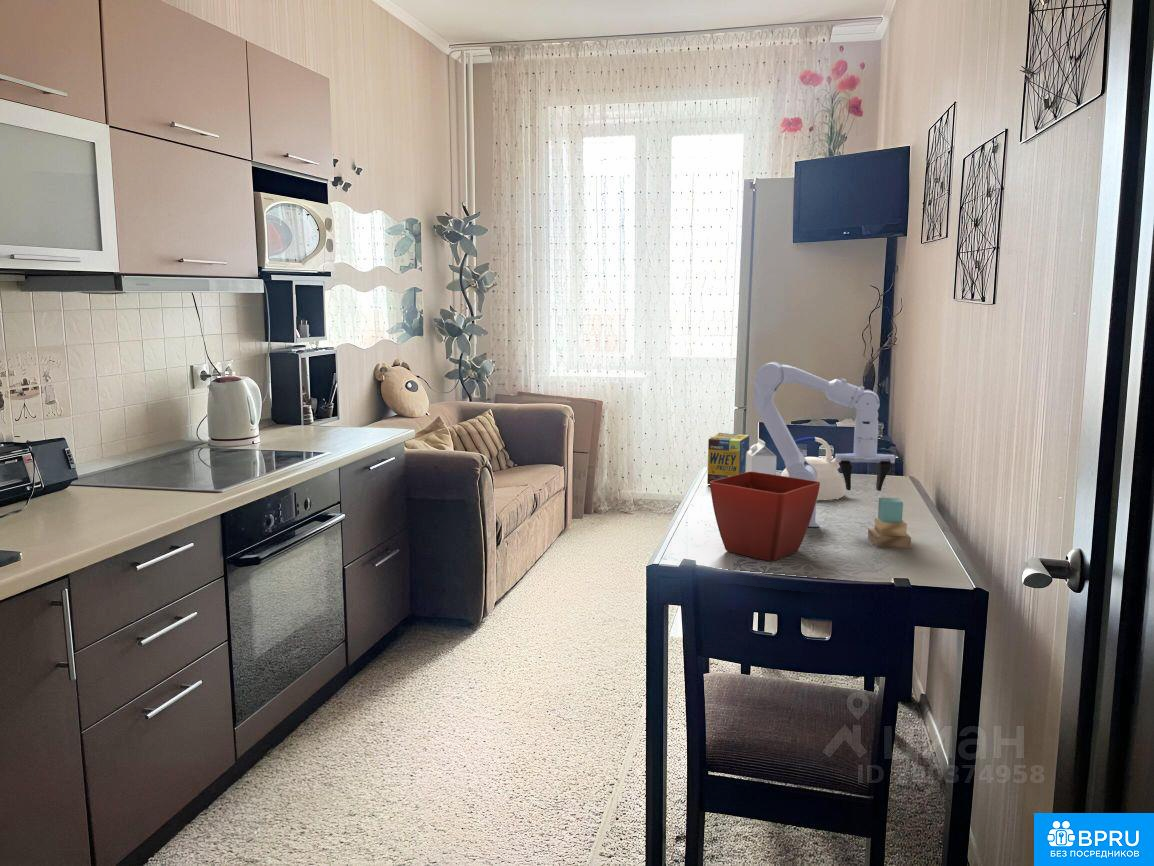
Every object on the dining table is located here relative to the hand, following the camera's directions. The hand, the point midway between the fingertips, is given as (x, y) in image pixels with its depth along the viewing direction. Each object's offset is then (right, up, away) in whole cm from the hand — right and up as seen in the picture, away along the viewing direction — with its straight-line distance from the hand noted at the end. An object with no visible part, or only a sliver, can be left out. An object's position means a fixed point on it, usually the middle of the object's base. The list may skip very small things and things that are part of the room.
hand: (863, 489), depth 220 cm
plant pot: (-30, -13, -20) cm, 39 cm away
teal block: (+2, -7, -12) cm, 14 cm away
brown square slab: (+2, -13, -12) cm, 17 cm away
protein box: (-24, -2, +61) cm, 66 cm away
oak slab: (+2, -10, -12) cm, 16 cm away
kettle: (-1, -5, +44) cm, 45 cm away
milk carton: (-21, -7, +29) cm, 36 cm away
